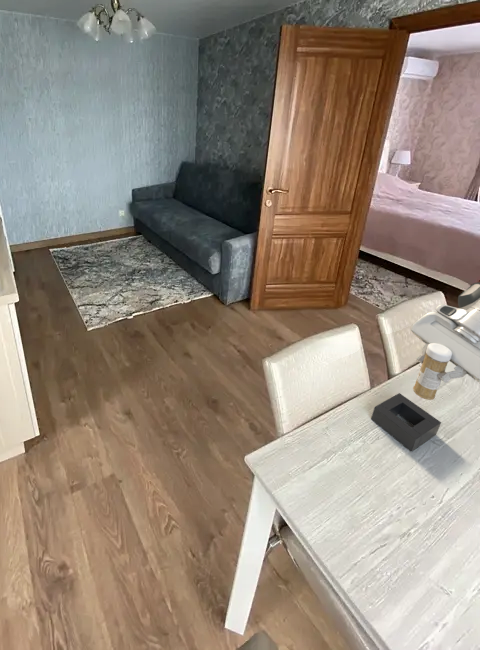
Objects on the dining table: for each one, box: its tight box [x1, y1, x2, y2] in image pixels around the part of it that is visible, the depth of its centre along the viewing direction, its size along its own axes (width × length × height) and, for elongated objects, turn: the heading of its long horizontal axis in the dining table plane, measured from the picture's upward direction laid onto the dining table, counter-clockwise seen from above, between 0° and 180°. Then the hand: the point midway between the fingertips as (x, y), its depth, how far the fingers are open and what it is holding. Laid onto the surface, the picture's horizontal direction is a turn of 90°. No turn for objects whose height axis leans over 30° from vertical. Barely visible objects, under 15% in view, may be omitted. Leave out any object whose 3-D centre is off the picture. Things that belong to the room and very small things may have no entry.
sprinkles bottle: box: [412, 343, 452, 401], centre depth 81 cm, size 5×5×14 cm
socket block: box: [370, 392, 442, 453], centre depth 92 cm, size 11×11×4 cm
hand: (430, 370), depth 80 cm, fingers closed on sprinkles bottle, 4 cm apart
